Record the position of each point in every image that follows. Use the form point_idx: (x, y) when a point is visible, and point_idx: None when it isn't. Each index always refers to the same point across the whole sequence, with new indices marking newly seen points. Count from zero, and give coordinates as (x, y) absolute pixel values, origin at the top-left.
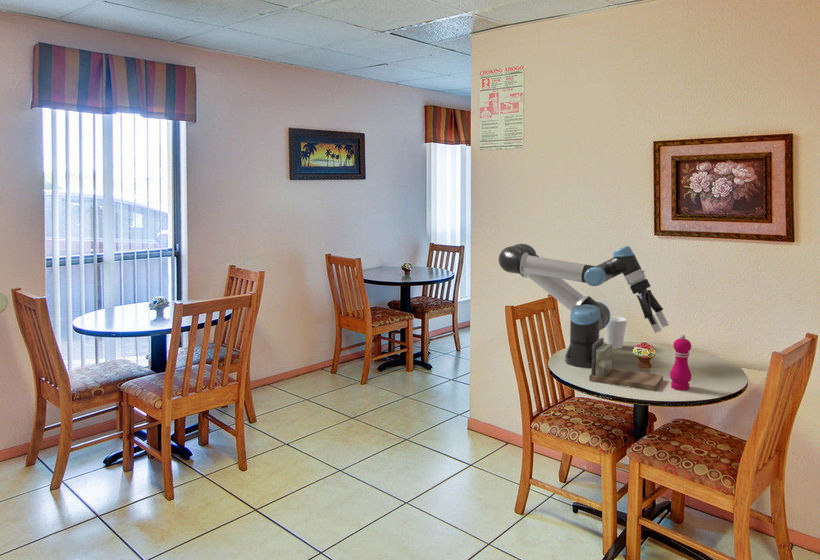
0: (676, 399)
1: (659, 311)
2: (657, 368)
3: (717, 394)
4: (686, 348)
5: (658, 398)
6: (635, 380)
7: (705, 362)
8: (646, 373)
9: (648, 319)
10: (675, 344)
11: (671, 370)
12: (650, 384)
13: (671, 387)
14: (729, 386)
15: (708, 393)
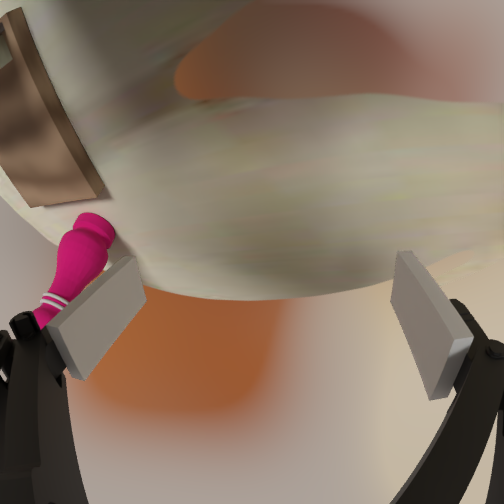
0: (45, 234)
1: (454, 379)
2: (210, 129)
3: None
4: None
5: (21, 213)
6: (11, 164)
7: (392, 242)
8: (67, 158)
9: (56, 319)
10: None
11: (60, 249)
12: (25, 198)
13: (79, 215)
14: (194, 288)
15: None
